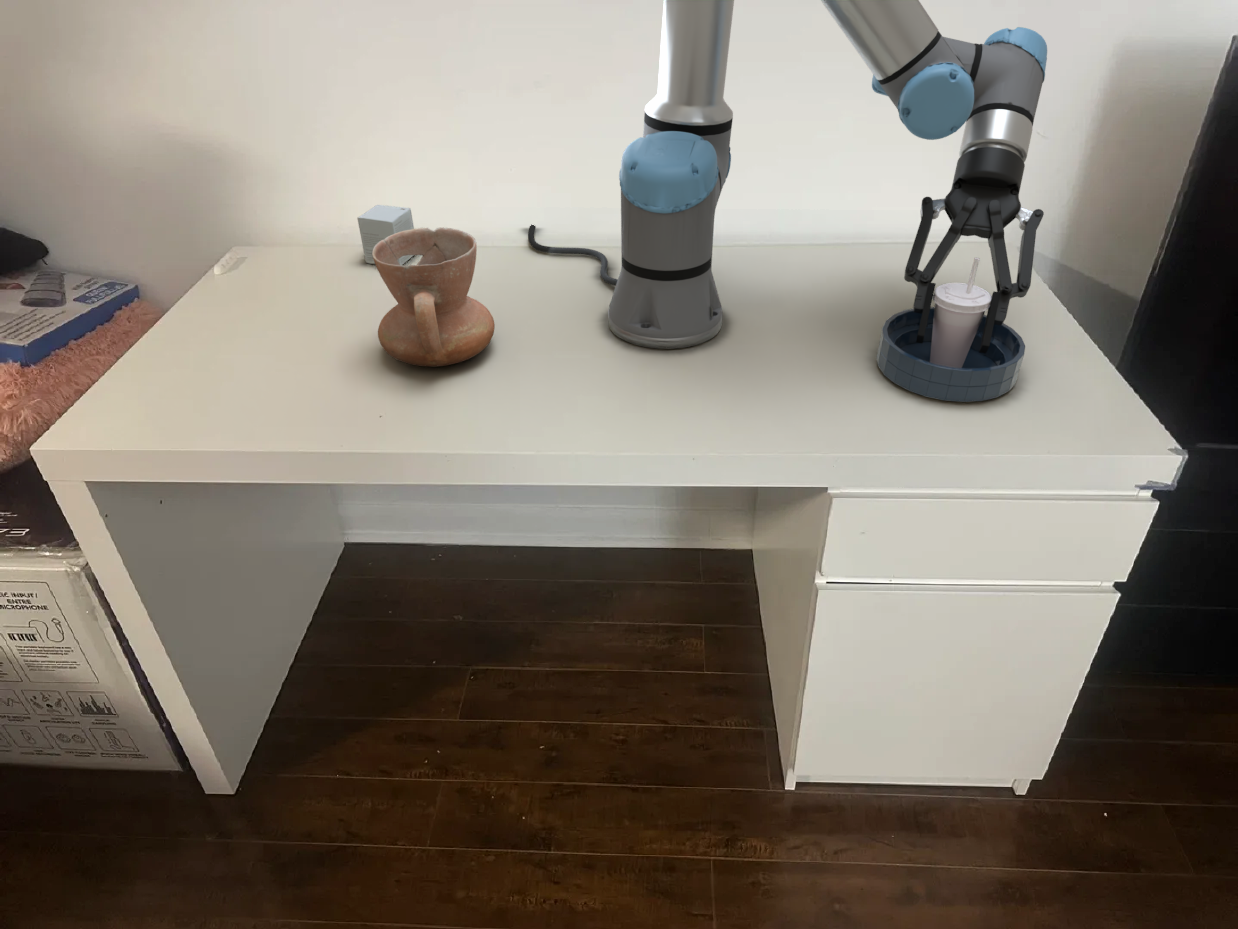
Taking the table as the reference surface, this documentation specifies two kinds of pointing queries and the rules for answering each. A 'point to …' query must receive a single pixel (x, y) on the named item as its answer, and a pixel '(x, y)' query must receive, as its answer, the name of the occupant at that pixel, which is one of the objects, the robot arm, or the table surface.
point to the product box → (383, 227)
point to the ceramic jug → (432, 298)
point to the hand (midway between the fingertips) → (951, 343)
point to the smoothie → (957, 319)
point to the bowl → (966, 384)
